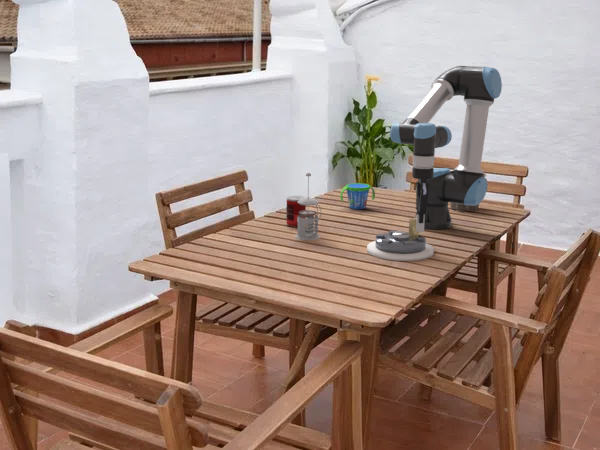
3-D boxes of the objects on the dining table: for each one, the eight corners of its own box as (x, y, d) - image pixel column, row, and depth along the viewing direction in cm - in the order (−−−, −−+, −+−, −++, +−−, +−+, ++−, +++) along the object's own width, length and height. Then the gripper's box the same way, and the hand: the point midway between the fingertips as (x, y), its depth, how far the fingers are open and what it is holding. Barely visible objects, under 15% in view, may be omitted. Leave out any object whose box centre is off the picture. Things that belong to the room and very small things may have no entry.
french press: (289, 236, 324) (290, 172, 318) (309, 231, 332) (310, 168, 326) (308, 241, 317) (309, 176, 311) (328, 236, 326) (330, 172, 320)
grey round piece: (403, 256, 293) (404, 230, 291) (365, 245, 306) (365, 221, 304) (435, 247, 305) (437, 222, 303) (397, 237, 318) (398, 213, 316)
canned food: (308, 222, 346) (308, 196, 343) (301, 227, 339) (302, 200, 336) (290, 221, 348) (290, 195, 346) (283, 225, 341) (283, 198, 338)
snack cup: (342, 210, 368) (343, 188, 365) (337, 205, 378) (338, 183, 375) (377, 210, 370) (378, 187, 368) (371, 204, 380) (372, 182, 378)
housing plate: (420, 241, 320) (420, 236, 319) (443, 259, 297) (443, 253, 297) (359, 244, 315) (359, 239, 314) (378, 262, 292) (378, 256, 292)
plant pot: (488, 208, 378) (491, 172, 374) (475, 214, 364) (478, 178, 360) (454, 203, 386) (456, 168, 382) (440, 209, 373) (442, 173, 369)
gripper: (436, 170, 295) (433, 235, 300) (430, 164, 308) (427, 227, 313) (415, 169, 295) (412, 235, 300) (410, 163, 307) (407, 226, 313)
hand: (420, 231), depth 307 cm, fingers closed
